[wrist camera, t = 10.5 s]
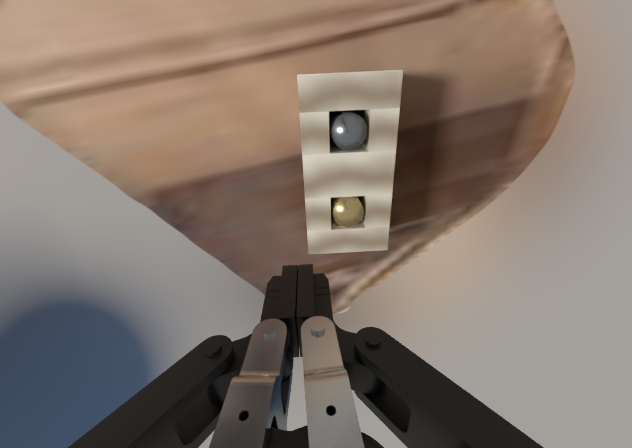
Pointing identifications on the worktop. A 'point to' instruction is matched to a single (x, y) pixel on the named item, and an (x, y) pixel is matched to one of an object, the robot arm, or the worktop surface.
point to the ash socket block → (349, 157)
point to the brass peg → (347, 210)
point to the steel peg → (347, 129)
